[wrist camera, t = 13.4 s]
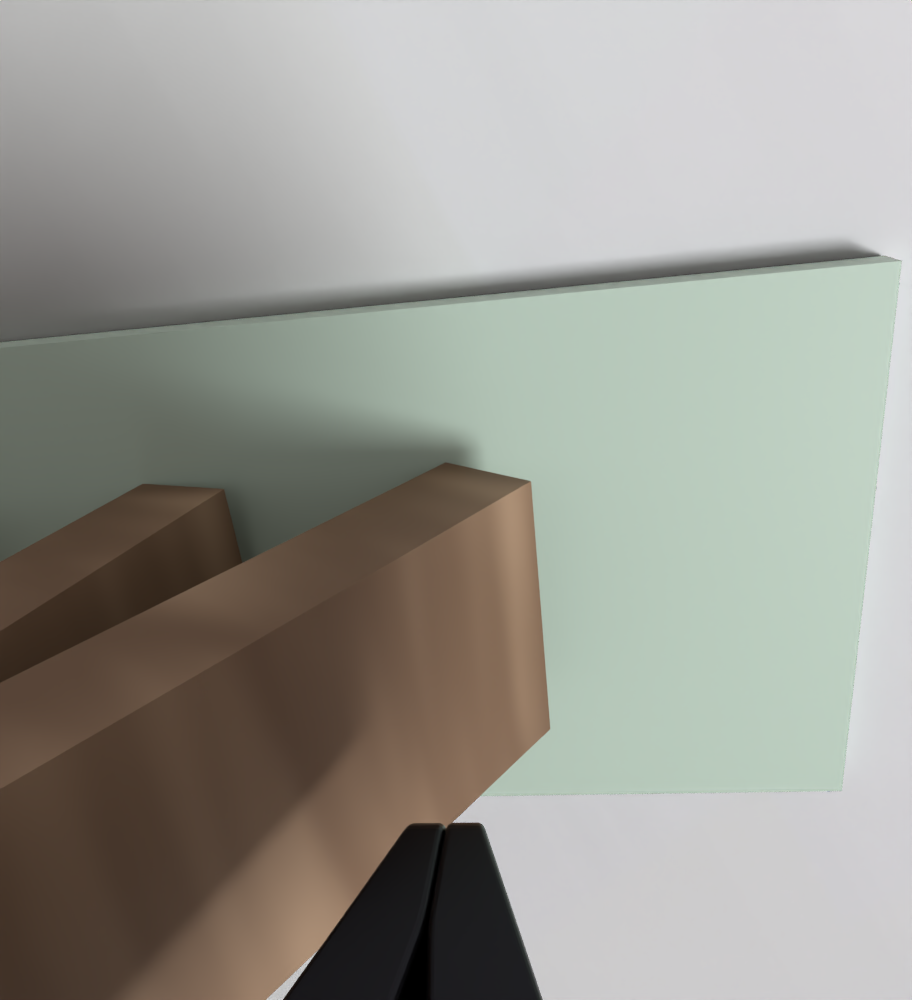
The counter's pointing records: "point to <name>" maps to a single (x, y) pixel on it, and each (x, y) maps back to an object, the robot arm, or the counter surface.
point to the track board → (544, 484)
